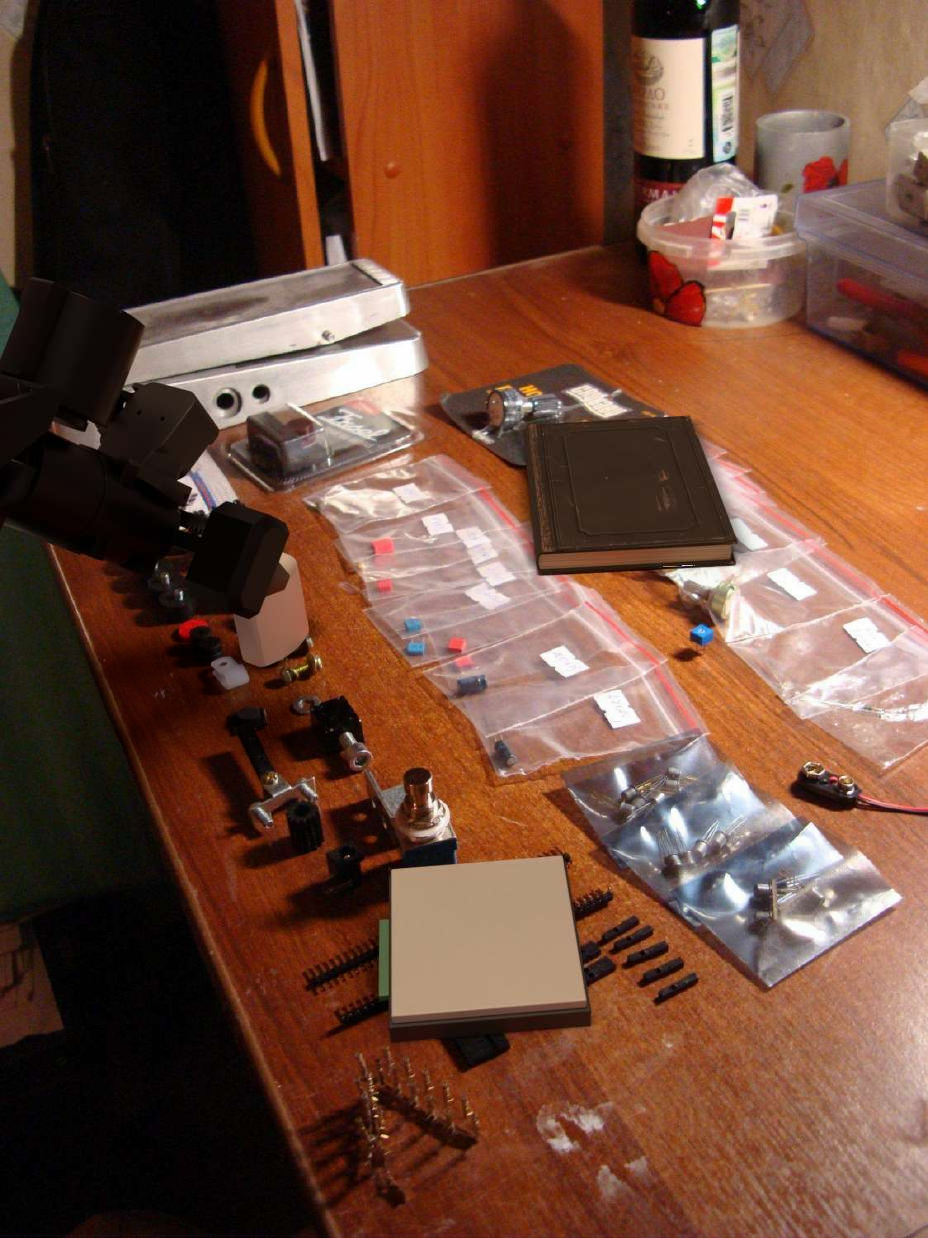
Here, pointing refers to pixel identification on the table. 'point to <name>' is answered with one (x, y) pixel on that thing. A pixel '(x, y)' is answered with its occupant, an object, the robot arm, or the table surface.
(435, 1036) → the kitchen scale
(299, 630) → the eye dropper bottle
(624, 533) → the hardcover book
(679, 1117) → the table surface
